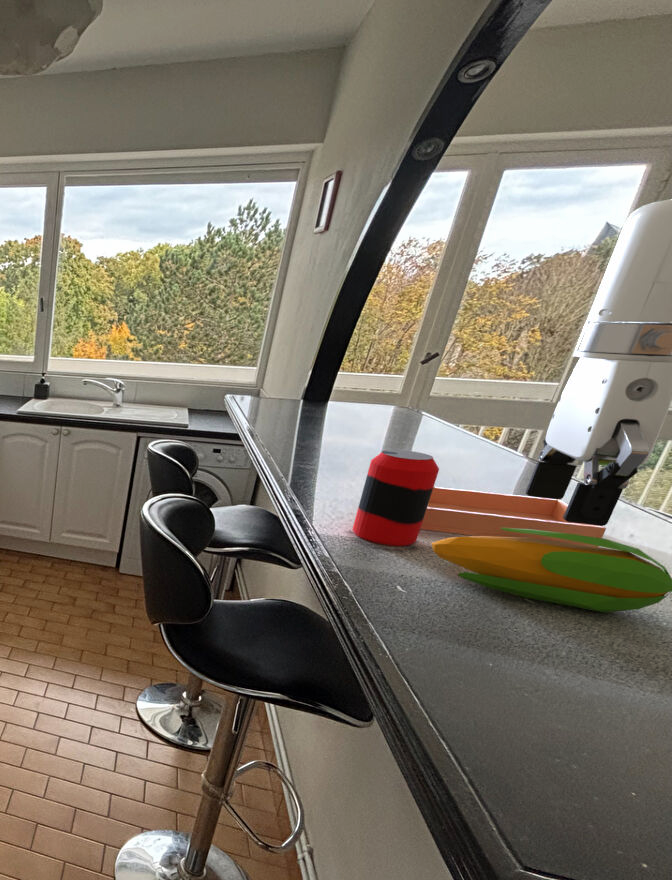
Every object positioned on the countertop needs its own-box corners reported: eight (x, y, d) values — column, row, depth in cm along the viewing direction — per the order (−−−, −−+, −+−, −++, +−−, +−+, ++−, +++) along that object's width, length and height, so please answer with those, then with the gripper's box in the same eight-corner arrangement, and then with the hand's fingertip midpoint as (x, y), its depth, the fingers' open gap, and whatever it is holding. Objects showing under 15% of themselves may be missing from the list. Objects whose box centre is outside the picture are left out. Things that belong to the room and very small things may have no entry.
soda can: (350, 524, 89) (371, 446, 84) (411, 533, 85) (437, 452, 81) (353, 540, 83) (375, 457, 78) (419, 550, 79) (447, 464, 75)
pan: (552, 519, 91) (561, 499, 89) (596, 551, 79) (606, 528, 78) (367, 499, 100) (372, 480, 99) (382, 524, 89) (388, 503, 88)
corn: (704, 562, 57) (442, 520, 68) (670, 633, 59) (422, 581, 70) (676, 544, 62) (439, 508, 73) (646, 609, 65) (421, 565, 76)
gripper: (750, 350, 49) (655, 541, 55) (635, 341, 63) (570, 493, 70) (628, 346, 52) (551, 528, 58) (545, 338, 66) (490, 484, 72)
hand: (562, 509), depth 64 cm, fingers open, 9 cm apart
